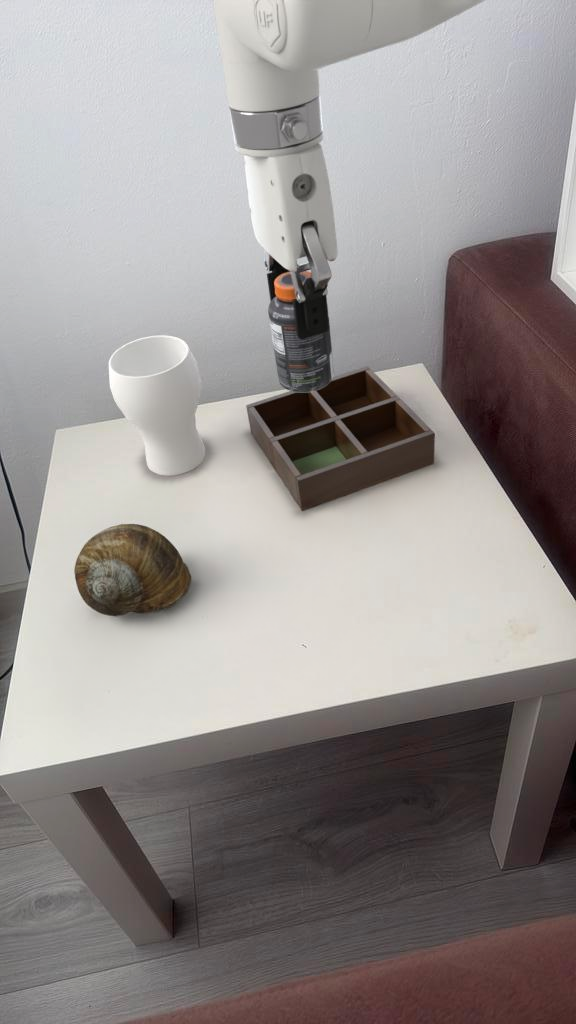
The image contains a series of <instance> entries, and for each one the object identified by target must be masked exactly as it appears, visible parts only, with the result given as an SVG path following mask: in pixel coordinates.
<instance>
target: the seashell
mask: <svg viewBox="0 0 576 1024" xmlns="http://www.w3.org/2000/svg"><path fill="white" fill-rule="evenodd" d="M73 572H74V578H75V583H76V587H77V591H78V594H79V595H80V597H81V599H82V600H83V602H84V603H85V605H87V606H88V607H89V608H91V609H92V610H93V611H95V612H97V613H99V614H101V615H105V616H109V617H121V616H125V615H127V614H128V615H129V614H131V613H134V614H147V613H156V612H160V611H163V610H166V609H168V608H171V607H173V606H175V605H176V604H178V603H179V602H180V601H181V600H182V599H183V598H184V597H185V596H186V594H187V592H188V590H189V589H190V586H191V581H192V575H191V573H190V569H189V567H188V565H187V564H186V563H185V562H184V559H183V557H182V556H181V554H180V552H179V550H178V548H176V547H175V545H174V544H173V542H171V541H170V540H169V539H168V538H167V537H166V536H164V535H163V534H162V533H161V532H159V531H157V530H156V529H153V528H151V527H149V526H147V525H142V524H137V523H121V524H117V525H113V526H110V527H107V528H105V529H103V530H101V531H99V532H97V533H96V534H95V535H93V536H92V537H91V538H89V539H88V541H86V543H85V544H84V545H83V546H82V548H81V550H80V551H79V554H78V555H77V558H76V560H75V564H74V571H73Z"/></svg>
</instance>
